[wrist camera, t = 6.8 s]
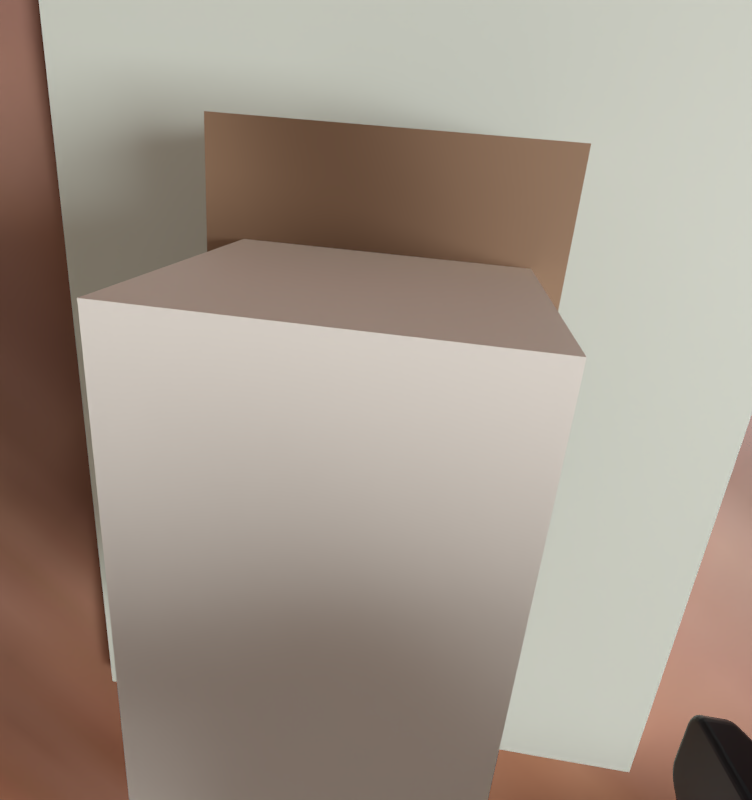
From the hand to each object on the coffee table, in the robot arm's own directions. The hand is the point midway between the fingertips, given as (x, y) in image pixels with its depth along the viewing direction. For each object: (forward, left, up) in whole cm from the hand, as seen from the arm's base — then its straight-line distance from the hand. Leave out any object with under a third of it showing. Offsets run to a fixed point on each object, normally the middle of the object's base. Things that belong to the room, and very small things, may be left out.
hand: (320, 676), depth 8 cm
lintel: (0, 0, -3) cm, 3 cm away
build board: (0, 0, -8) cm, 8 cm away
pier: (0, -4, -8) cm, 9 cm away
